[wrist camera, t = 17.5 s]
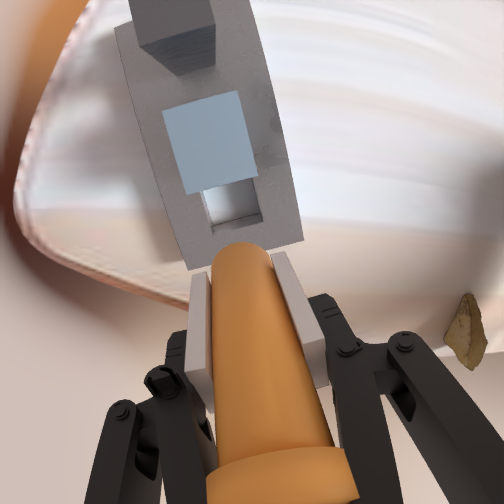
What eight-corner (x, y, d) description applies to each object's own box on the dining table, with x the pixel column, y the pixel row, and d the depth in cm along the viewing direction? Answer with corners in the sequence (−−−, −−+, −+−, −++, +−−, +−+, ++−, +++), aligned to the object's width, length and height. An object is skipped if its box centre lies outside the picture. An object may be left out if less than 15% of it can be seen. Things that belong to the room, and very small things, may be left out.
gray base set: (121, 33, 22) (42, -20, 8) (243, -1, 22) (272, -88, 8) (189, 259, 33) (176, 371, 19) (298, 230, 33) (355, 326, 19)
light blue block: (175, 110, 24) (161, 111, 18) (231, 95, 24) (237, 90, 18) (193, 174, 27) (186, 195, 21) (248, 159, 27) (258, 175, 21)
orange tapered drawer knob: (242, 219, 16) (312, 493, 4) (293, 268, 18) (392, 498, 6) (188, 271, 17) (172, 530, 5) (241, 312, 19) (278, 540, 7)
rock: (469, 290, 38) (434, 345, 40) (508, 319, 33) (473, 374, 35) (464, 290, 47) (436, 336, 49) (498, 314, 42) (469, 360, 44)
